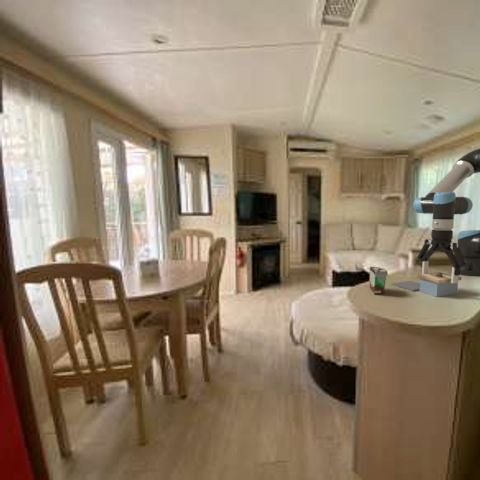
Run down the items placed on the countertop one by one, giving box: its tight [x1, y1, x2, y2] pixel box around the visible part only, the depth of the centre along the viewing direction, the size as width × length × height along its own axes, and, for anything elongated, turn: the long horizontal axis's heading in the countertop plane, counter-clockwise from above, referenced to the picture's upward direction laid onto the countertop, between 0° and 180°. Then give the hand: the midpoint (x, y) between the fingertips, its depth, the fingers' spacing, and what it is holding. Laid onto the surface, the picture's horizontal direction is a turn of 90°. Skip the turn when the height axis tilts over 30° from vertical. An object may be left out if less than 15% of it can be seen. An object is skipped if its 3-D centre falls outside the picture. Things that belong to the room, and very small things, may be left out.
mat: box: [390, 280, 420, 292], centre depth 145 cm, size 12×12×1 cm
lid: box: [416, 271, 462, 283], centre depth 134 cm, size 13×10×2 cm
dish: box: [419, 278, 459, 298], centre depth 135 cm, size 12×8×6 cm, turn 110°
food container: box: [369, 266, 389, 296], centre depth 137 cm, size 12×6×10 cm, turn 168°
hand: (438, 279), depth 134 cm, fingers open, 13 cm apart
